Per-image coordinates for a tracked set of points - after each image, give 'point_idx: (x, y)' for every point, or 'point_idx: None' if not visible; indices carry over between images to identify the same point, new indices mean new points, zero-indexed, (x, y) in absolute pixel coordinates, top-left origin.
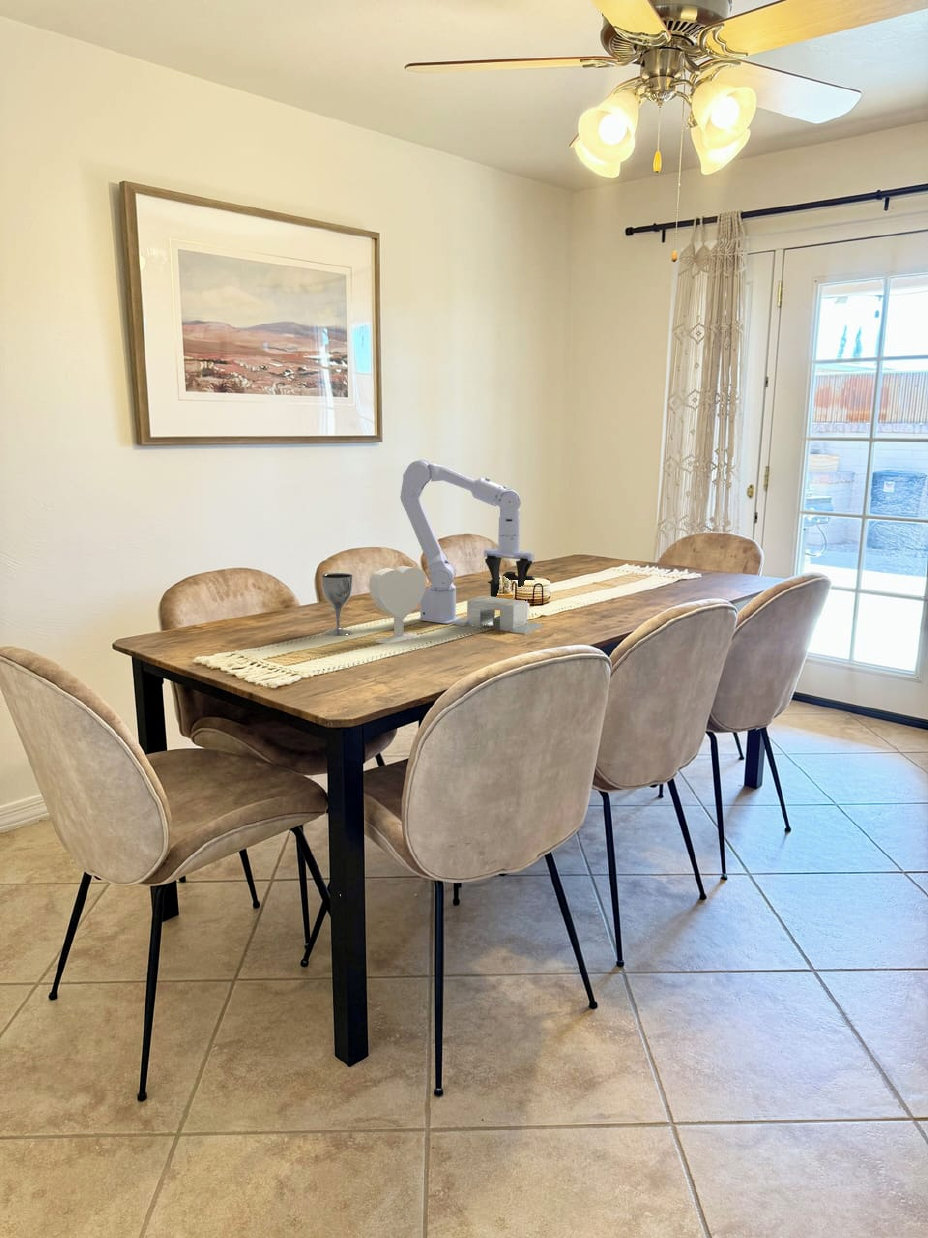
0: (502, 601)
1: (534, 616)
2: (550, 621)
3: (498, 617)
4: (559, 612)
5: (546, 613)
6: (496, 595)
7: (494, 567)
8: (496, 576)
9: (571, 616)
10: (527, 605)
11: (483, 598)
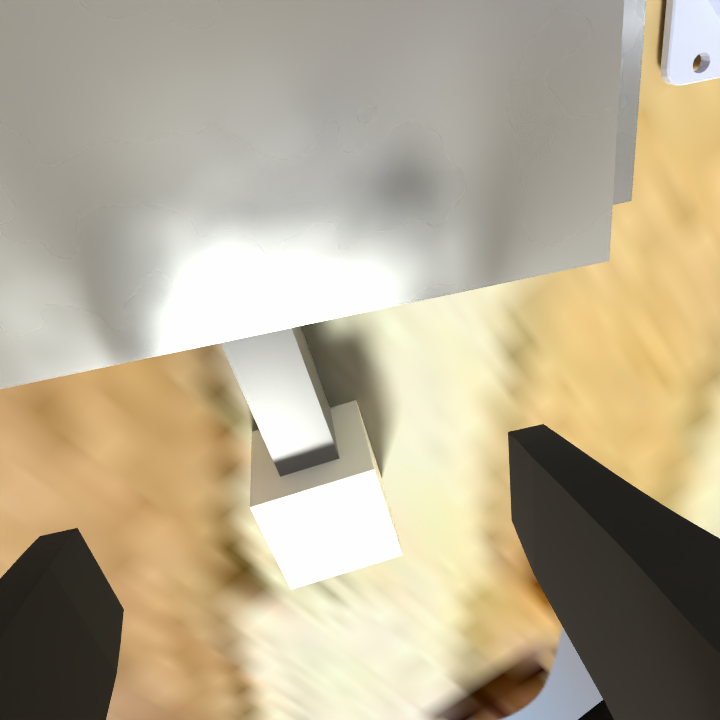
0: (105, 111)
1: None
2: (82, 516)
3: None
4: (247, 686)
5: (283, 632)
6: None
7: (706, 702)
8: (567, 561)
9: None
10: (276, 552)
11: (487, 101)
